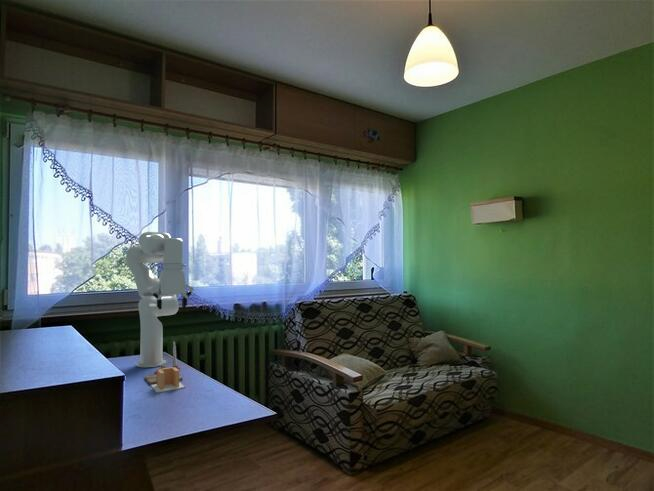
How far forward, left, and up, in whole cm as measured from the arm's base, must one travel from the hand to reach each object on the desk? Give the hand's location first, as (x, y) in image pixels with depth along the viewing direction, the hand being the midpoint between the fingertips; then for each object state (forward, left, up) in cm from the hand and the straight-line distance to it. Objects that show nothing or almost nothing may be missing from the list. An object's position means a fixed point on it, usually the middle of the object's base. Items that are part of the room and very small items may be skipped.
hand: (172, 308), depth 174 cm
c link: (+15, -5, -28) cm, 32 cm away
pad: (+15, -5, -28) cm, 32 cm away
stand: (+3, -4, -28) cm, 29 cm away
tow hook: (-9, 0, -29) cm, 30 cm away
